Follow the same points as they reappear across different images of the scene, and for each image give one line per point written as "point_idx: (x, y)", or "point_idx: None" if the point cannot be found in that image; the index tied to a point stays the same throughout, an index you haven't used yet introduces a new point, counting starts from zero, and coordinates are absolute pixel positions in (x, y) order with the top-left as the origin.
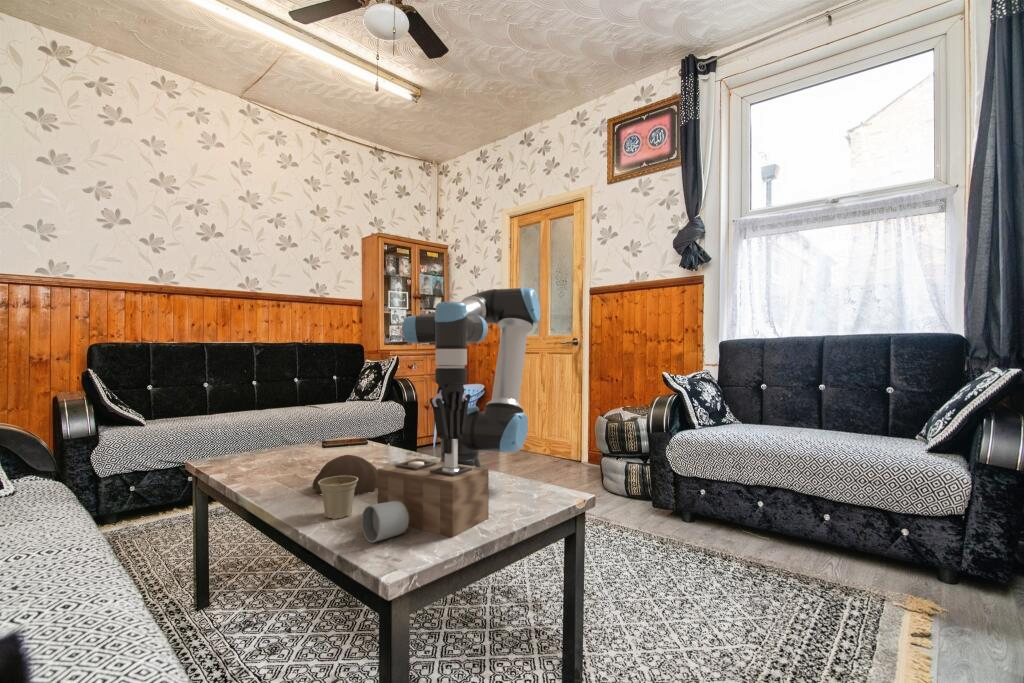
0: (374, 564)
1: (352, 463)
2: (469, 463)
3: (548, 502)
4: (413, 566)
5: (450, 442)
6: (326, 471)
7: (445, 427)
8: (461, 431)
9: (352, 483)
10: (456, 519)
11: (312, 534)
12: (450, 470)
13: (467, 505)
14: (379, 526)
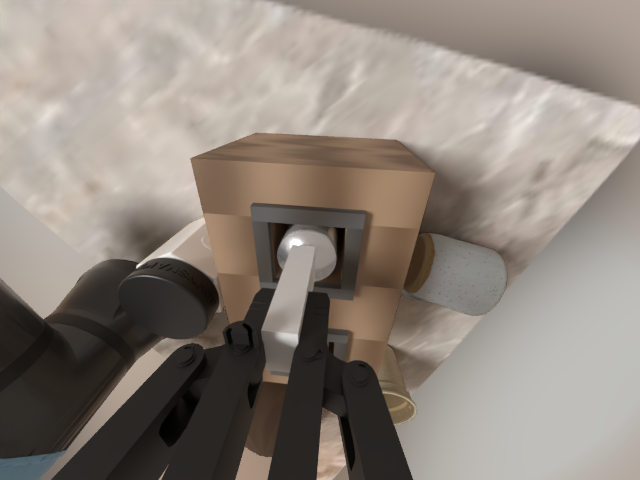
0: (567, 195)
1: (273, 434)
2: (164, 270)
3: (50, 42)
4: (574, 117)
5: (309, 334)
6: None
7: (382, 453)
8: (198, 365)
9: (384, 390)
10: (387, 145)
11: (455, 338)
12: (330, 247)
13: (339, 146)
14: (501, 257)
